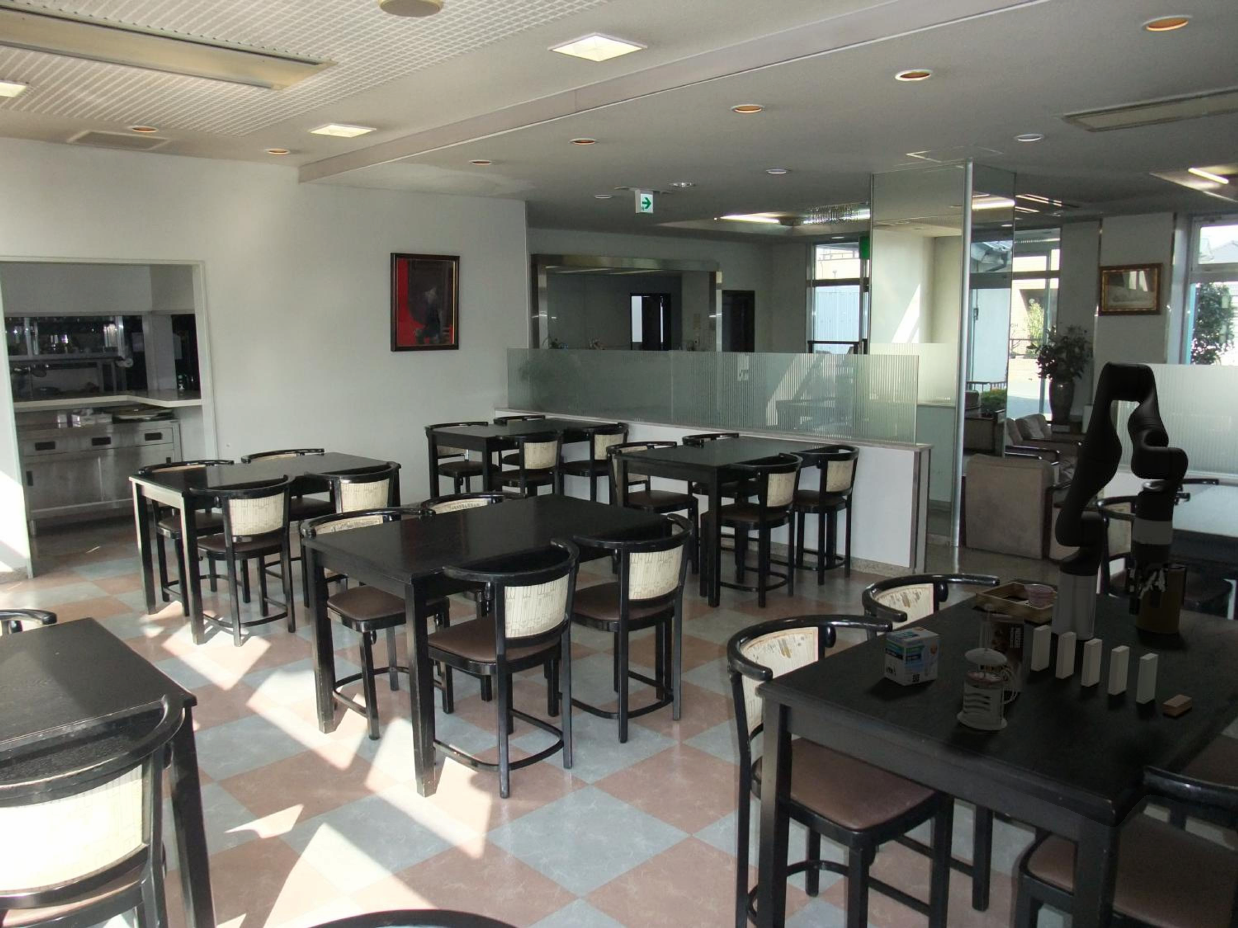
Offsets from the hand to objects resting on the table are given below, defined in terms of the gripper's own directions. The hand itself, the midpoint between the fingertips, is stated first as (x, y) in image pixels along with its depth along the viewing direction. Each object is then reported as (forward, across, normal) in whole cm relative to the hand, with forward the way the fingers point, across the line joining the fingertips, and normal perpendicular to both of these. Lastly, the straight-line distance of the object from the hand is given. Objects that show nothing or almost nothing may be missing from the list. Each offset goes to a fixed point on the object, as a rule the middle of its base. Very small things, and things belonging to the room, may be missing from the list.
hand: (1144, 610), depth 202 cm
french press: (+20, +39, -11) cm, 45 cm away
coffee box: (+20, +20, -21) cm, 35 cm away
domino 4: (+20, 0, -4) cm, 20 cm away
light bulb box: (+20, +32, -35) cm, 52 cm away
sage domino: (+20, 0, +2) cm, 20 cm away
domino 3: (+20, +1, -10) cm, 22 cm away
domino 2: (+20, +1, -16) cm, 26 cm away
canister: (+20, -52, -21) cm, 60 cm away
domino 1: (+20, +2, -22) cm, 30 cm away
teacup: (+21, -42, -50) cm, 68 cm away
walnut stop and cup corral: (+20, -22, -26) cm, 40 cm away
